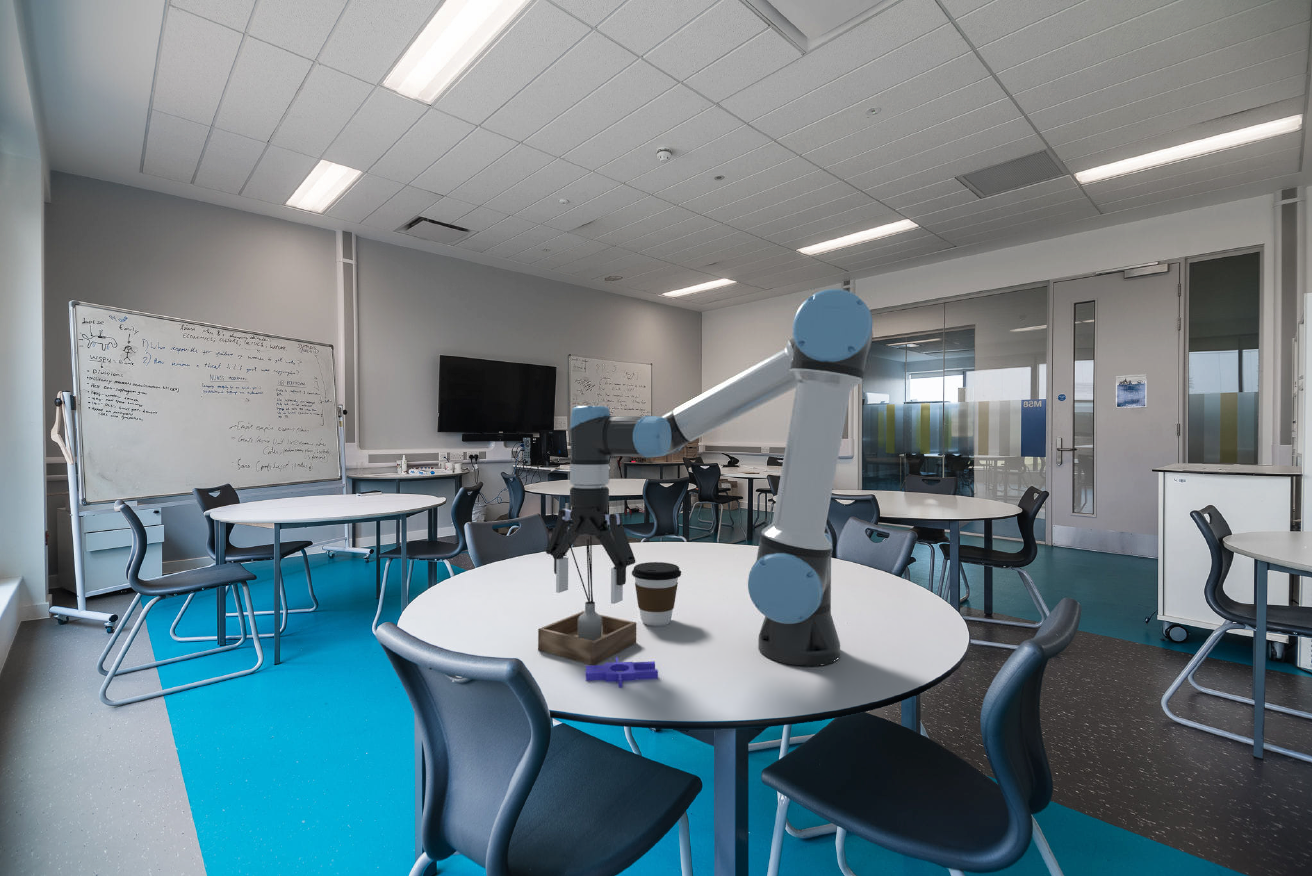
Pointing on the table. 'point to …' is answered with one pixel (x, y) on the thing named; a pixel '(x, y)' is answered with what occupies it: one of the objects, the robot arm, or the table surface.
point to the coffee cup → (656, 591)
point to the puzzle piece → (629, 672)
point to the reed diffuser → (589, 606)
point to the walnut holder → (567, 643)
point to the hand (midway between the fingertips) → (588, 596)
